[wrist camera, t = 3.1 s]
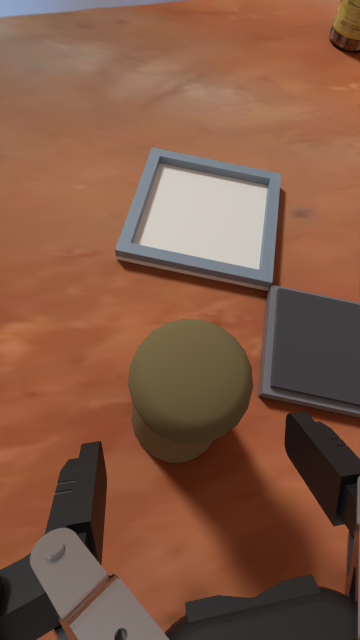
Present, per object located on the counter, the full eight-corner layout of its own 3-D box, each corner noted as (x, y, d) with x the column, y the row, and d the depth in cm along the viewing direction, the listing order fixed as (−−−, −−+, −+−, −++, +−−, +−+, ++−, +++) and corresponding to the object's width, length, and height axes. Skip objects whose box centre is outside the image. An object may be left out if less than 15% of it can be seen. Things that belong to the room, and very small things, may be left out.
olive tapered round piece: (237, 417, 22) (306, 372, 12) (174, 485, 20) (195, 496, 10) (177, 355, 24) (195, 272, 14) (113, 412, 22) (80, 361, 12)
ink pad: (258, 396, 23) (264, 391, 22) (267, 291, 27) (273, 281, 25) (382, 422, 23) (396, 419, 21) (372, 313, 27) (384, 304, 25)
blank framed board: (116, 259, 27) (115, 249, 26) (152, 159, 33) (152, 147, 32) (267, 291, 27) (272, 282, 26) (276, 184, 33) (281, 173, 31)
